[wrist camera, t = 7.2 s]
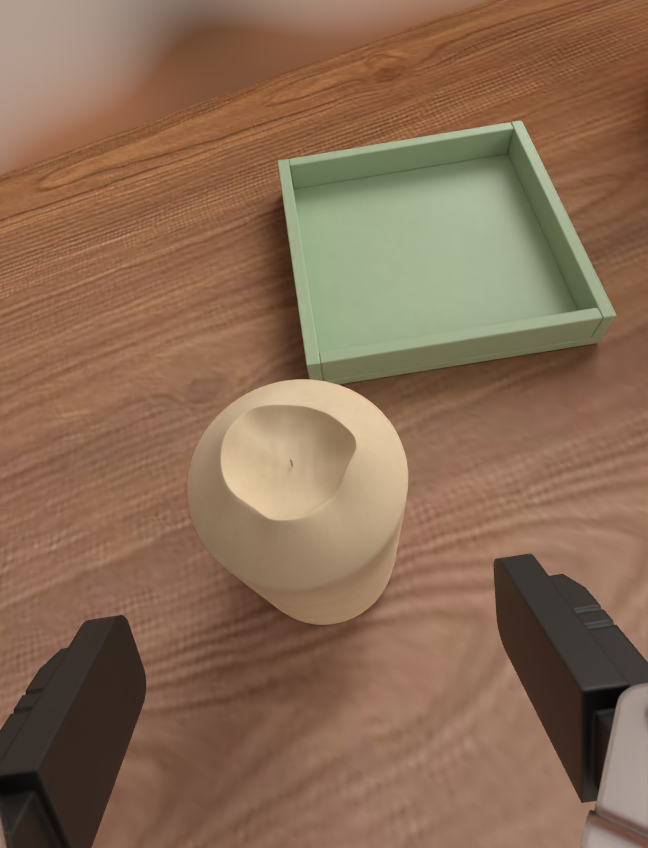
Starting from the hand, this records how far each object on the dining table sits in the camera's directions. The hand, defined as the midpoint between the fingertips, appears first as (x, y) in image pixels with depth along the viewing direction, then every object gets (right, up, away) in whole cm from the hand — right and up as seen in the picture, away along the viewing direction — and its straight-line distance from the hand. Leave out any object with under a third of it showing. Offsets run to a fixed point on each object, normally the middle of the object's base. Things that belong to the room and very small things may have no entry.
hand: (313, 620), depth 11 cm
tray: (+5, +13, +15) cm, 21 cm away
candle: (0, -1, +9) cm, 9 cm away
